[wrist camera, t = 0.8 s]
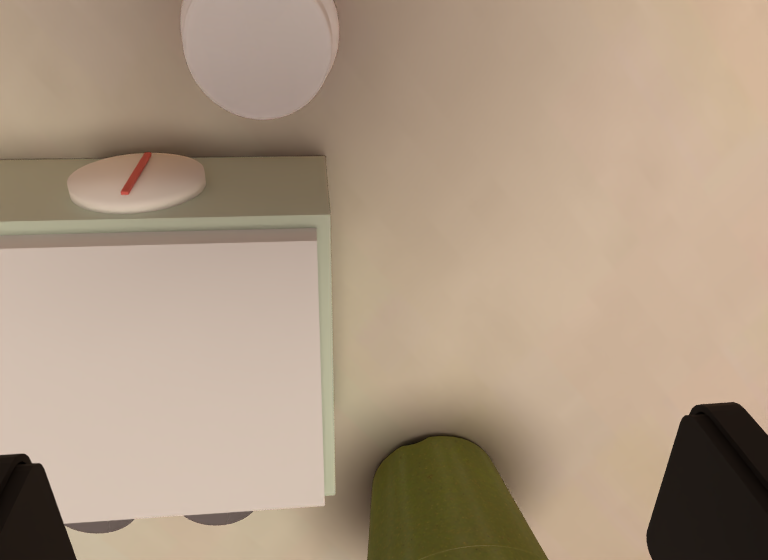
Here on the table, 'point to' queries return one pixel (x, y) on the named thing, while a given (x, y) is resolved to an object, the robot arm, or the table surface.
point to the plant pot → (445, 507)
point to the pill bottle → (260, 52)
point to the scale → (168, 332)
